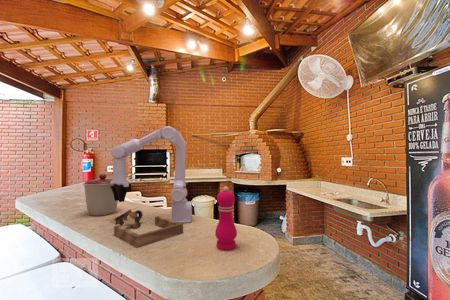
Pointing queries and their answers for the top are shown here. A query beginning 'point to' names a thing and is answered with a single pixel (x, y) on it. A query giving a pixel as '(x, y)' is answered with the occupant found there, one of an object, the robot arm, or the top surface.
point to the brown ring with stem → (133, 215)
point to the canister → (100, 196)
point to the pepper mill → (226, 221)
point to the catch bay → (137, 240)
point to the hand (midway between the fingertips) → (119, 201)
